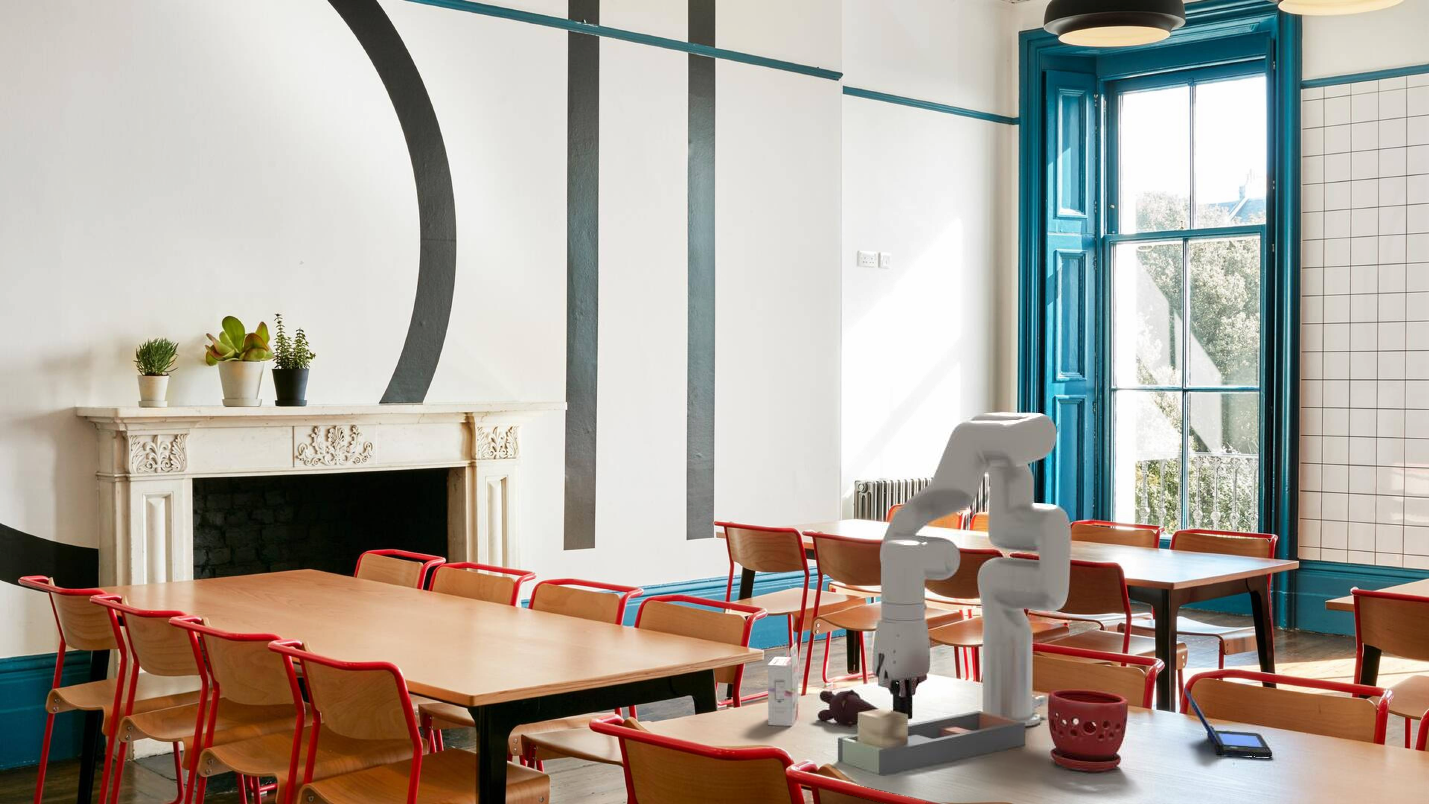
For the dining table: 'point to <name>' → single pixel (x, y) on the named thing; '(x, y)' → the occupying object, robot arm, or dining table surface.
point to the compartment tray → (935, 743)
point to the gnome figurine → (843, 707)
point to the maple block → (883, 728)
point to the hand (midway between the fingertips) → (902, 717)
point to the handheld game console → (1233, 739)
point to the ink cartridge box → (783, 689)
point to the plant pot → (1087, 728)
